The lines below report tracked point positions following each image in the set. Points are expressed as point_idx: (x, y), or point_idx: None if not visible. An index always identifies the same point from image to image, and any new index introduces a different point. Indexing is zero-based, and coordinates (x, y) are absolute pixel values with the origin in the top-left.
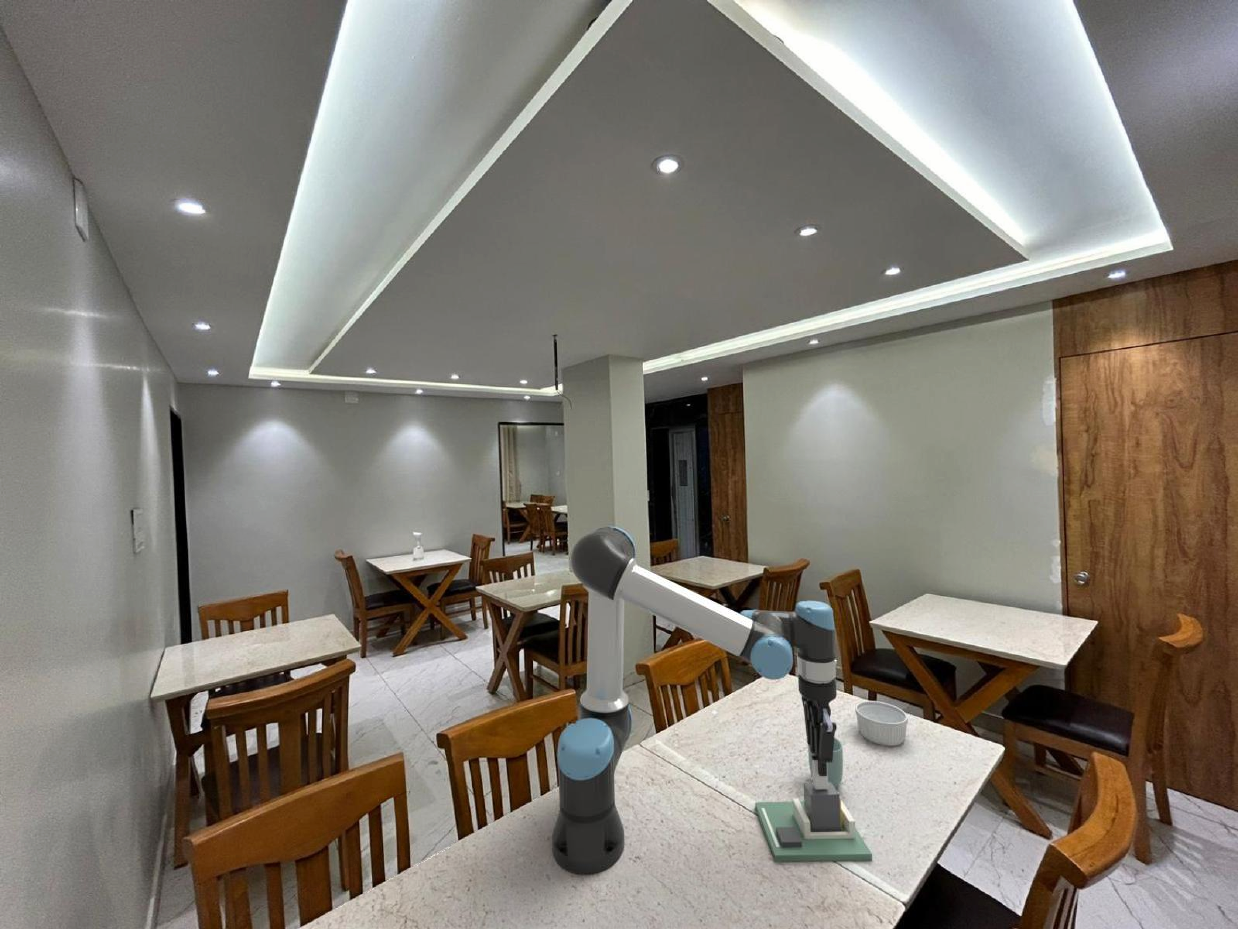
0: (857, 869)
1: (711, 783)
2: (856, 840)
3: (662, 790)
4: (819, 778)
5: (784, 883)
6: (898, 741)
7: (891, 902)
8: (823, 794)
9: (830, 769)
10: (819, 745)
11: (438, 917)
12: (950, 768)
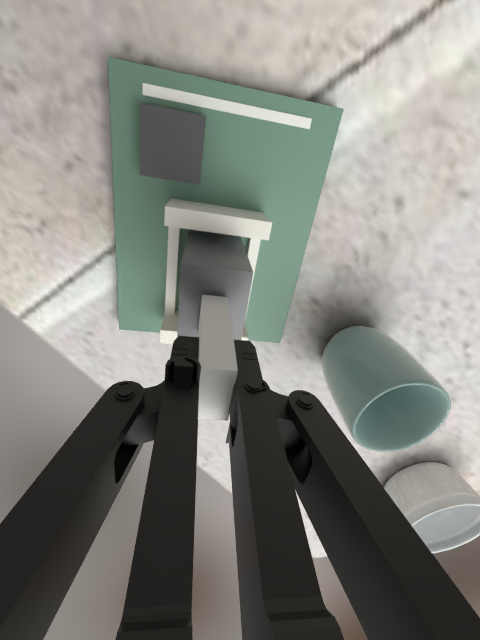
0: (96, 281)
1: None
2: (158, 319)
3: None
4: (199, 329)
5: (28, 47)
6: None
7: (12, 300)
8: (179, 308)
9: (336, 377)
10: (83, 481)
11: None
12: (307, 516)
